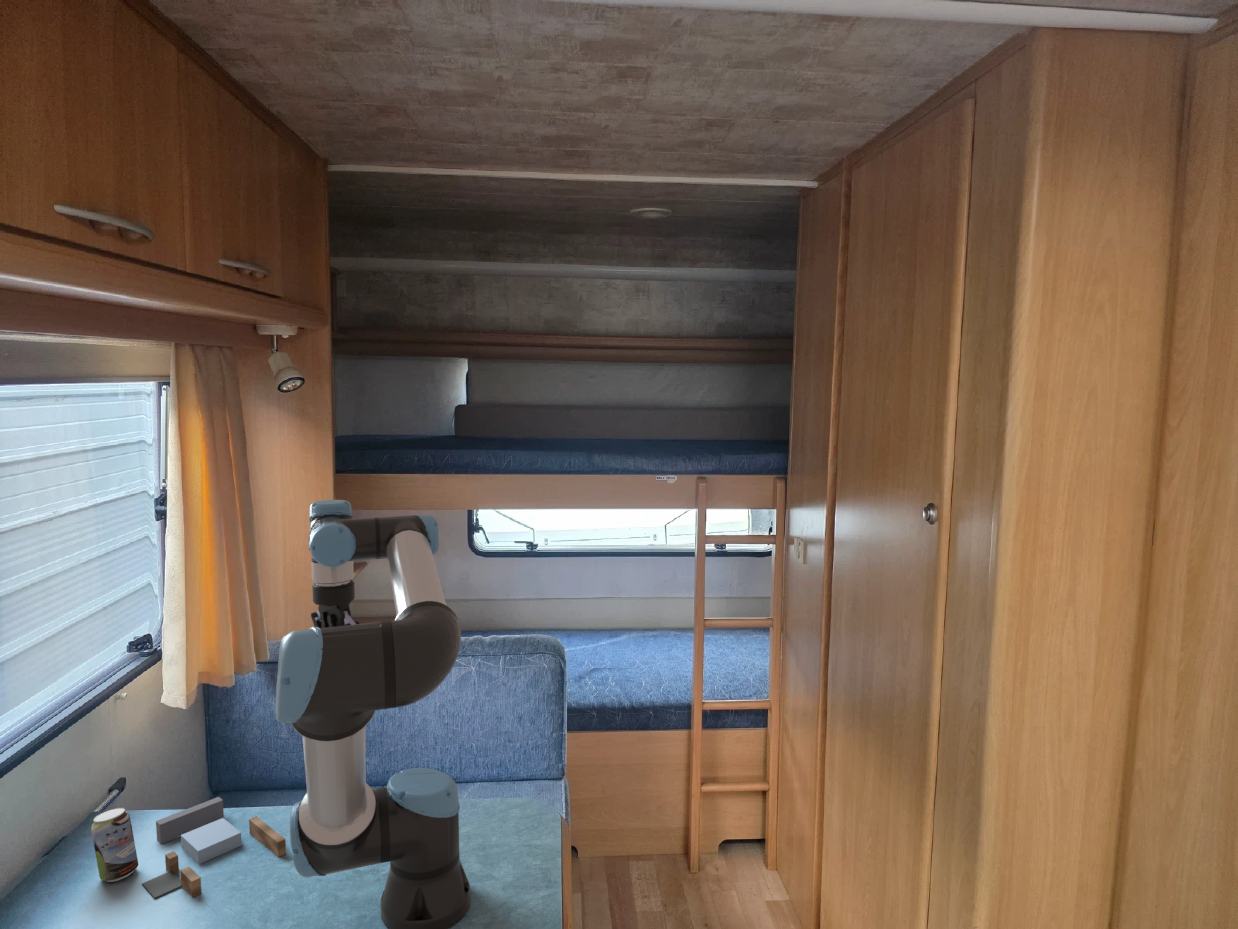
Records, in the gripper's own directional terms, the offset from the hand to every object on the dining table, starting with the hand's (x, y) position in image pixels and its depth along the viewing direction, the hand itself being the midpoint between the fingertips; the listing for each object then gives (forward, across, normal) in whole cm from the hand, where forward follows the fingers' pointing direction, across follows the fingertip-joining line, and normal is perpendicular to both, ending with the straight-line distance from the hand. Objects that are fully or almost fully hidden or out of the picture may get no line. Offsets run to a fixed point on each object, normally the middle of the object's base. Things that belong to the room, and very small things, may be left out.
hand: (337, 700), depth 152 cm
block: (+29, +19, +17) cm, 39 cm away
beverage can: (+29, +23, +32) cm, 49 cm away
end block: (+29, +28, +16) cm, 44 cm away
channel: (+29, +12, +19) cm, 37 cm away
